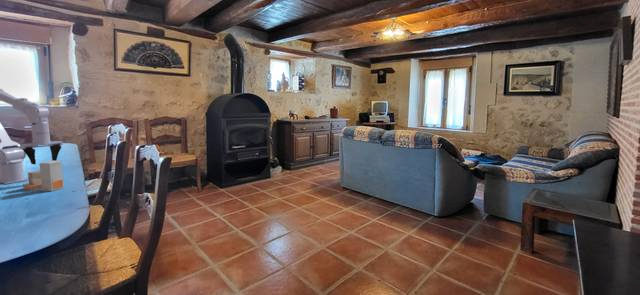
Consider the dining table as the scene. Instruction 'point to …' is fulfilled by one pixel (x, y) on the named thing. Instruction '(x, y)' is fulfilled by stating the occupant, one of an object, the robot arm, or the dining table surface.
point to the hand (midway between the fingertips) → (44, 162)
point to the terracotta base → (32, 187)
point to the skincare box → (51, 175)
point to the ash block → (34, 177)
